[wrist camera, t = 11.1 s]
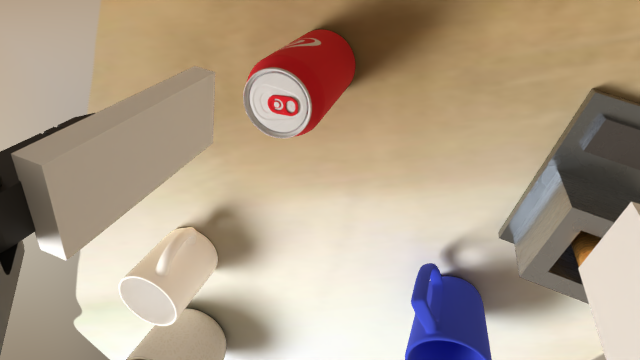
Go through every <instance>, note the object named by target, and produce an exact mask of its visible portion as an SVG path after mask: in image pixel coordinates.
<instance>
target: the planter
mask: <svg viewBox="0 0 640 360" xmlns="http://www.w3.org/2000/svg"><path fill="white" fill-rule="evenodd" d="M225 352H226V339H225V335H224V332H223V330H222V329H221V327H220V326H219V325H218V323H217V322H216V321H215V320H214V319H212V318H211V317H210V316H208V315H207V314H205V313H203V312H201V311H198V310H194V309H184V311H183V312H182V313H181V315H180V316H179V317H178V318H177V320H176V321H175V322H174V323H173V324H171V325H168V326H158V325H155V326H154V327H153V328H152V329H151V331H150V332H149V333H148V334H147V335H146V336H145V338H144V339H143V340H142V341H141V342H140V344H139V345H138V346H137V347H136V348H135V350H134V351H133V352H132V353H131V354H130V356H129V357H128V358H127V359H126V360H224V357H225Z"/></svg>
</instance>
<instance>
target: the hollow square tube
mask: <svg viewBox="0 0 640 360" xmlns="http://www.w3.org/2000/svg"><path fill="white" fill-rule="evenodd" d="M631 202H635V203H638V204H640V199H638V198H636V197H633V196H630V195H627V194H624V193H621V192H618V191H615V190H612V189H610V188H607V187H604V186H601V185H598V184H595V183H592V182H589V181H587V180H584V179H581V178H578V177H575V176H572V175H569V174H566V173H563V172H561V171H557V172H556V174H555V175H554V177H553V178H552V180H551V181H550V183H549V184H548V185H547V187H546V188H545V190H544V191H543V193H542V194H541V196H540V197H539V199H538V200H537V202H536V203H535V204H534V206H533V207H532V209H531V210H530V212H529V213H528V215H527V216H526V218H525V219H524V221H523V222H522V224H521V225H520V226H519V228H518V229H517V231H516V232H515V234H514V235H513V238H514V244H515V251H516V257H517V264H518V270H519V277H521V278H523V279H526V280H528V281H531V282H534V283H536V284H539V285H541V286H544V287H547V288H549V289H552V290H554V291H557V292H560V293H562V294H565V295H567V296H570V297H572V298H575V299H578V300H580V301H583V302H585V303H588V304H589V302H588V299H587V295H586V292H585V289H584V286H583V282H582V279H581V276H580V273H579V269H578V268H579V266H578V263H577V260H576V257H575V254H574V252H573V249H572V246H571V242H572V241H573V240H574V239H575V237H576V236H577V235H578V234H579V232H580V231H581V230H582V231H584V232H587V233H590V234H593V235H595V236H598V237H601V238H603V237H604V235H605V234H606V233H607V232H608V230H609V229H610V228H611V226H612V225H613V224H614V223H615V221H616V220H617V219H618V218H619V216H620V215H621V214H622V213H623V211H624V210H625V209H626V208H627V206H628V205H629V204H630V203H631Z"/></svg>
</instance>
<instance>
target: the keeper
mask: <svg viewBox="0 0 640 360" xmlns="http://www.w3.org/2000/svg"><path fill="white" fill-rule="evenodd" d="M557 171H561V172H563V173H566V174H569V175H572V176H575V177H578V178H581V179H584V180H587V181H589V182H592V183H595V184H598V185H601V186H604V187H607V188H610V189H612V190H615V191H618V192H621V193H624V194H627V195H630V196H633V197H636V198H638V199H640V104H639V103H636V102H633V101H630V100H627V99H623V98H620V97H617V96H614V95H611V94H608V93H605V92H601V91H598V90H595V89H592V90H591V91H590V93H589V94H588V96H587V97H586V99H585V100H584V102H583V103H582V105H581V106H580V108H579V110H578V111H577V113H576V114H575V116H574V117H573V119H572V120H571V122H570V123H569V125H568V126H567V128H566V129H565V131H564V133H563V134H562V136H561V137H560V139H559V140H558V142H557V143H556V145H555V146H554V148H553V149H552V151H551V153H550V154H549V156H548V157H547V159H546V160H545V162H544V163H543V165H542V166H541V168H540V169H539V171H538V172H537V174H536V176H535V177H534V179H533V180H532V182H531V183H530V185H529V186H528V188H527V189H526V191H525V192H524V194H523V195H522V197H521V199H520V200H519V202H518V203H517V205H516V206H515V208H514V209H513V211H512V212H511V214H510V215H509V217H508V219H507V220H506V222H505V223H504V225H503V226H502V228H501V229H500V231H499V238H500V239H503V240H506V241H508V242H511V243H514V238H513V235H514V234H515V232H516V231H517V229H518V228H519V226H520V225H521V224H522V222H523V221H524V219H525V218H526V216H527V215H528V213H529V212H530V210H531V209H532V207H533V206H534V204H535V203H536V202H537V200H538V199H539V197H540V196H541V194H542V193H543V191H544V190H545V188H546V187H547V185H548V184H549V183H550V181H551V180H552V178H553V177H554V175H555V174H556V172H557ZM601 239H602V238H601V237H598V236H595V235H593V234H590V233H587V232H584V231H582V230H581V231H580V232H579V234H578V235H577V236H576V237H575V239H574V240H573V241H572V242H571V246H572V249H573V252H574V254H575V257H576V260H577V263H578V266H579V267H580V265H581V264H582V263H583V262H584V260H585V259H586V258H587V257H588V255H589V254H590V253H591V252H592V250H593V249H594V248H595V247H596V245H597V244H598V243H599V242H600V240H601Z"/></svg>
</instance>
